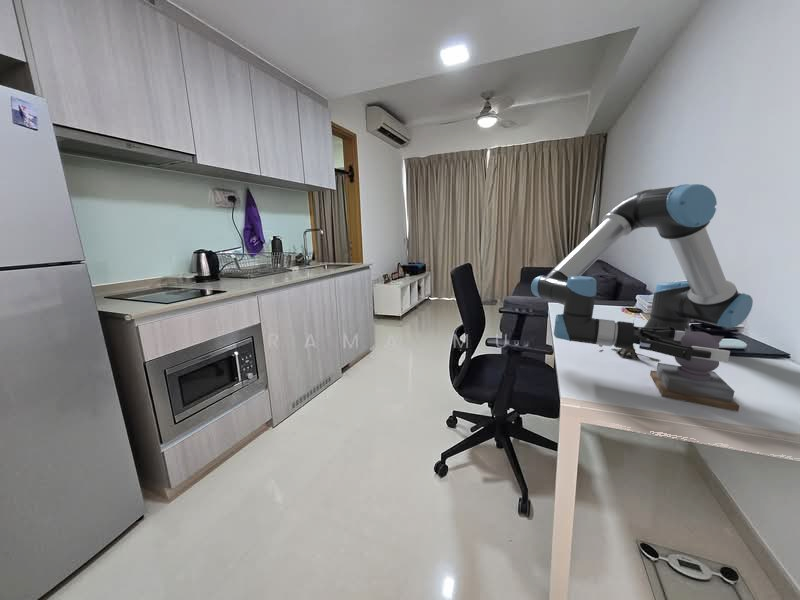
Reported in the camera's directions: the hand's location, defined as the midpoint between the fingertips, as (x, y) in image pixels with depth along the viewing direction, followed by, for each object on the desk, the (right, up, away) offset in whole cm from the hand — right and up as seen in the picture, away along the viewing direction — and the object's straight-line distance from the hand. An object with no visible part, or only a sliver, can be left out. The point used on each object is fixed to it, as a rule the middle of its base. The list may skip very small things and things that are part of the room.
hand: (716, 347), depth 77 cm
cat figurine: (-3, -8, +3) cm, 9 cm away
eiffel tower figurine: (-1, -8, +28) cm, 29 cm away
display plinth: (-3, -12, +4) cm, 13 cm away
